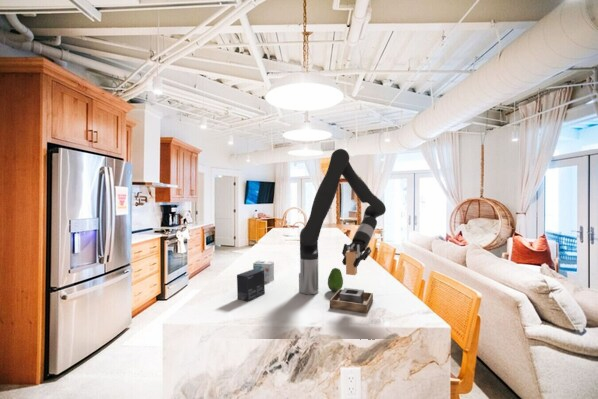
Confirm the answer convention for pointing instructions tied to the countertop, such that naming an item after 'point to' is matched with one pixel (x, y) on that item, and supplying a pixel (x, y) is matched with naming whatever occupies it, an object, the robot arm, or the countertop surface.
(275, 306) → the countertop surface
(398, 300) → the countertop surface
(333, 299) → the walled tray
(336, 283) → the avocado
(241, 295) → the small box
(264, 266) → the light bulb box
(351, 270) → the plug
